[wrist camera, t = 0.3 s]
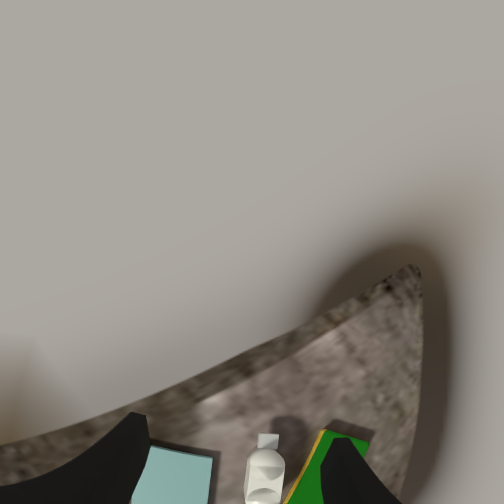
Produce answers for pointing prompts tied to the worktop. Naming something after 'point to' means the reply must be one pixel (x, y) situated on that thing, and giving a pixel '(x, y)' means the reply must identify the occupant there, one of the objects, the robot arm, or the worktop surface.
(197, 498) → the teal mat
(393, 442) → the worktop surface
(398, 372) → the worktop surface
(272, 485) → the white rounded piece
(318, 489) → the dish sponge
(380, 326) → the worktop surface
